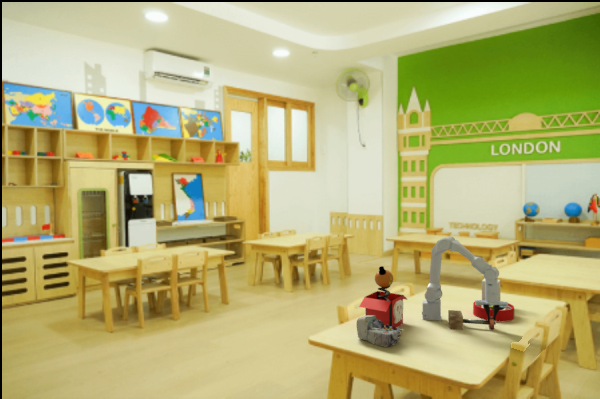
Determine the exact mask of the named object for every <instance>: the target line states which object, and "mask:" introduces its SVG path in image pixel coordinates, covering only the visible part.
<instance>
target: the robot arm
mask: <svg viewBox="0 0 600 399" xmlns="http://www.w3.org/2000/svg"><path fill="white" fill-rule="evenodd" d="M448 250H449V251H451V252H458V254H460V255H462V256H463V257H464V258H465V259H467V260H468V261H469V262H470V263H471V266H472V267H473V268H474V269H476V270H477V271H478V272H479V273H480V274H482V275H483V279H484V278H485V300H482V299H475V300H474V302H475V305H483V306H484V308H485V311H486V314H487V320H488V321H490V315H489V314H490V308H489V305H491V306H493V318H494V321H495V319H496V315H497V313H498V311H499V310H500V306H505V307H508V303H509V302H508V301H501V300H500V301H498V280H499V276H500V271H499V269H498V268H497V267H495V266H493V265H492V264H489V262H487V261H486V260H485V258H484V257H482V256H476V255H474V253H472V252H471V251H470V250H468V248H466V247H465V245H463V244H462V243H461V242H460V241H459V240H457V239H455V238H454V237H453V236H446V237H443V238H440V239H438V240H437V241H436V243H435V244H434V246H433V247H432V249H431V250H430V253H431V254H430V265H429V266H430V268H429V281H428V282H429V283H428V285H427V287H426V291H425V294H424V298H425V300H422V311H421V315H422V320H424V321H425V320H426V321H427V320H428V321H440V322H441V321H443V319H442V312H441V311H442V308H441V304H442V302H441V298H442V297H443V291H442V285H441V282H440V281H441V272H442V271H441V269H442V257H443V255H442V254H444V253H445V252H447V251H448Z"/></svg>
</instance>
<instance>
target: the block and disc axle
mask: <svg viewBox="0 0 600 399" xmlns="http://www.w3.org/2000/svg"><path fill="white" fill-rule="evenodd" d="M496 323H497V321H494V318H493V317H490V321H488V320H485V319H473V318H471V319H470V318H463V324H473V325H485V326H486V325H487V326H488V329H489V330H494V329H495V326H496V325H497V324H496Z"/></svg>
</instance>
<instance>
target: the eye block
mask: <svg viewBox="0 0 600 399" xmlns="http://www.w3.org/2000/svg"><path fill="white" fill-rule="evenodd" d="M447 316H448V317H447V320H448V321H447V322H448V327H449V329H450V330H456V331H457V330H458V331H463V330H464V323H463V319H464V316H463V313H462V311H461V310H453V309H451V310H450V309H448V315H447Z"/></svg>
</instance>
